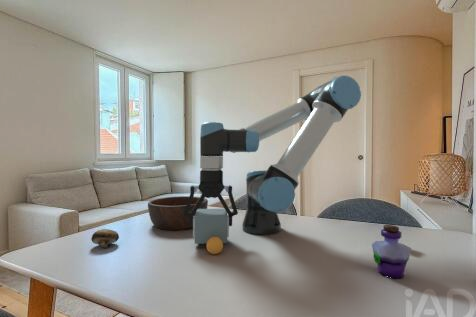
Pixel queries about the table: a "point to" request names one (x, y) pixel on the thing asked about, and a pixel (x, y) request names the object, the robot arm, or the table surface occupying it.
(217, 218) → the smooth grey cuboid
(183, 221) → the wooden bowl
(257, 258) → the table surface
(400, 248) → the potion bottle
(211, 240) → the ball
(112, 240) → the mushroom
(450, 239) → the table surface
